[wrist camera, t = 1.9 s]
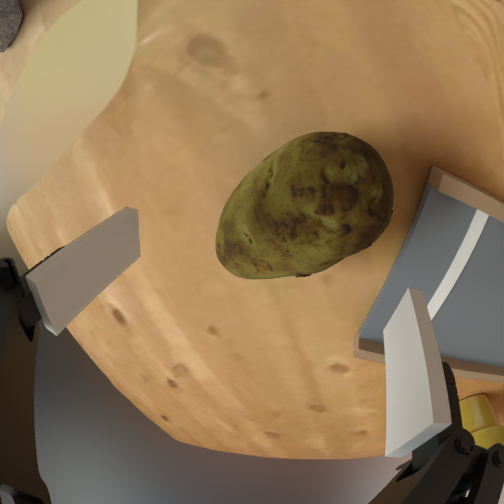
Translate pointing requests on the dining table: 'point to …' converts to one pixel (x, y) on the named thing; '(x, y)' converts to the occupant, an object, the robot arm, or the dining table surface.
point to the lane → (450, 278)
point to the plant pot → (481, 421)
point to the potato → (305, 208)
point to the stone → (9, 21)
